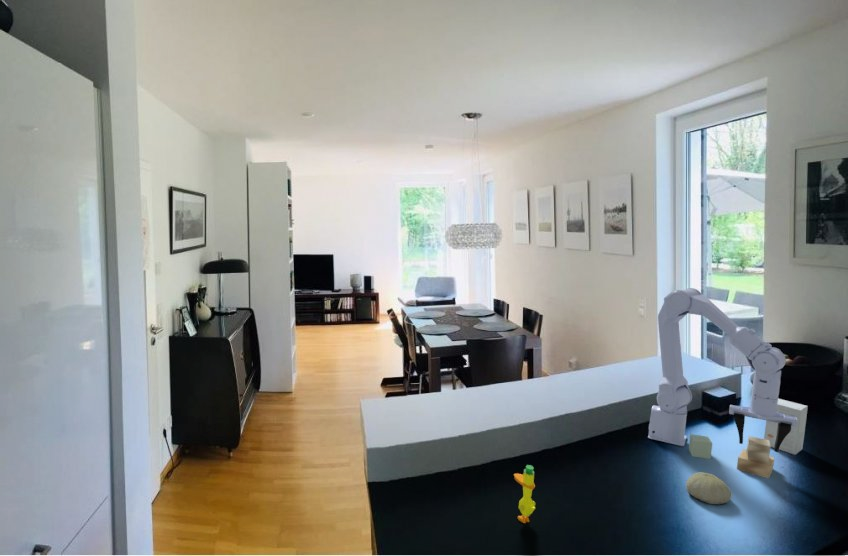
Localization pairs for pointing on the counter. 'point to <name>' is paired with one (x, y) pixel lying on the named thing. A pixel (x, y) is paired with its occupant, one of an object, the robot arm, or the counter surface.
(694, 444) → the sage cube
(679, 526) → the counter surface
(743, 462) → the oak slab
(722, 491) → the sea urchin shell
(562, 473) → the counter surface
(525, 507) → the toy figure
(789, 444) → the small box
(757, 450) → the birch cube
